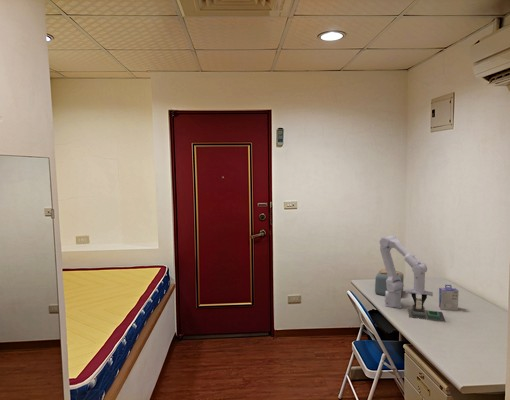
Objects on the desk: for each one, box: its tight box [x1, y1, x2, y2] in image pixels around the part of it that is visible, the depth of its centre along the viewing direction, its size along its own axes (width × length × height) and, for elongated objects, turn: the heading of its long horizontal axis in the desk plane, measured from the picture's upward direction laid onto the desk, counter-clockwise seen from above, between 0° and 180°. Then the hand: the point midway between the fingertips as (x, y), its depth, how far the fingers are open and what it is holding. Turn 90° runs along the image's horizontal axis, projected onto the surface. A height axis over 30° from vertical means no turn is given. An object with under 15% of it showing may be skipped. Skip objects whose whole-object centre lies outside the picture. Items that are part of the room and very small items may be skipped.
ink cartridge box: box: [438, 284, 459, 311], centre depth 220 cm, size 10×6×14 cm, turn 79°
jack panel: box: [407, 304, 446, 323], centre depth 211 cm, size 19×13×4 cm
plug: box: [415, 297, 422, 309], centre depth 212 cm, size 3×4×6 cm
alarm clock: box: [374, 269, 405, 296], centre depth 247 cm, size 16×16×16 cm
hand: (418, 306), depth 212 cm, fingers closed on plug, 3 cm apart
